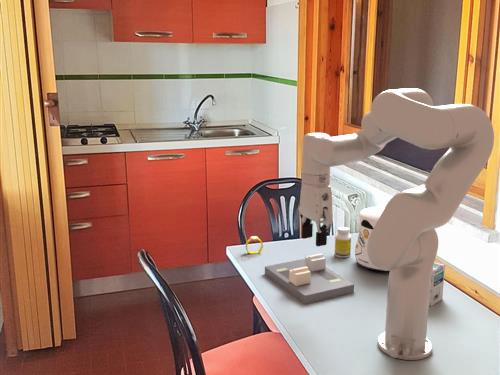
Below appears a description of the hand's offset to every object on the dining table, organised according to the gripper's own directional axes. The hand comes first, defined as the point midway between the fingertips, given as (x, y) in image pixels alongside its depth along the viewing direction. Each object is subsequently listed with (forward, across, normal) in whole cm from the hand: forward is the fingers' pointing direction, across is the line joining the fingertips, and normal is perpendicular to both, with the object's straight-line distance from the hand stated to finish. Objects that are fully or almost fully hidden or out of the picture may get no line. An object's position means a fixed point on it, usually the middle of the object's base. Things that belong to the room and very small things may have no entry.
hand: (314, 240), depth 156 cm
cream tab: (+15, +7, 0) cm, 17 cm away
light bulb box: (+18, -13, -28) cm, 36 cm away
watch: (+18, +40, -2) cm, 44 cm away
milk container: (+18, +12, -34) cm, 40 cm away
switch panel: (+18, +10, -5) cm, 21 cm away
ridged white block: (+15, +14, -10) cm, 23 cm away
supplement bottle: (+18, +25, -28) cm, 42 cm away
